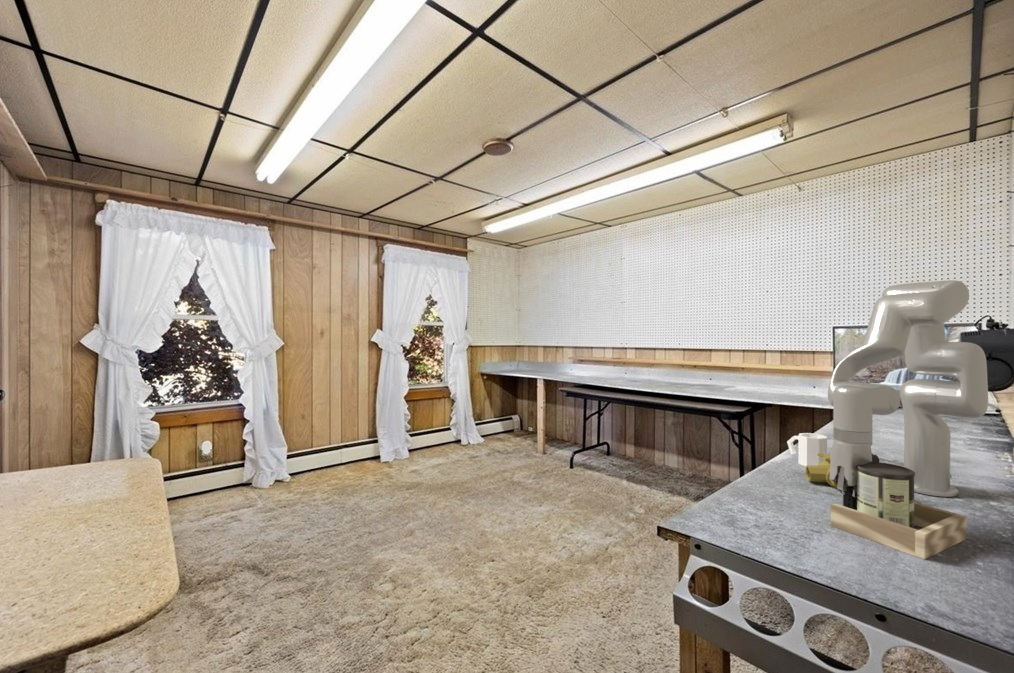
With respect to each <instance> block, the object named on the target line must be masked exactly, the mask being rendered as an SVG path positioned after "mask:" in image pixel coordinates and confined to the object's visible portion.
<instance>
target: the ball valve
mask: <svg viewBox="0 0 1014 673" xmlns="http://www.w3.org/2000/svg"><path fill="white" fill-rule="evenodd" d="M831 451H832V450H831ZM831 451H829V453H827V454H824V453H818V454H817V455H818V456H819V457H822V458H823V460H824V461H823V462H821V463H818V466H808V465H806V466H805V472H804V473H805V474H804V475H805V478H806V480H807V481H808V482H820V483H828V485H829V486H830V487H832V488H834V489H837V485H838V481H831V480H830V460H831ZM826 461H827V462H826Z"/></svg>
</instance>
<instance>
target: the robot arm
mask: <svg viewBox="0 0 1014 673" xmlns="http://www.w3.org/2000/svg"><path fill="white" fill-rule="evenodd" d="M969 299H970V290H969V289H968V286H967V285H966V283H964V282H963V281H960V280H953V279H952V280H951V279H949V280H937V281H922V282H910V283H909V282H908V283H901V284H894V285H891V286H888V287H886V288H884V289H883V291H882V294H881V297H880V298H878V299H877V300H876V301H875V303H874V306H873V308H872V311H871V315H870V318H869V322H868V323H867V324H868V326H867V328H866V331H865V334H864V339H863V342H862V343H861V345H860V346H858V347H857V348H855V349H854V350H853V349H852V351H851V352H849V353H848V354H847V355H845V356H844V357H843V358H841V359H842V360H840V361H839V362H838V363H837V364H836V365H835V368H834V369H833V371H832V375H831V377H830V381H829V385H828V389H827V400H828V401H829V404H830V405H831V406H832V407H833V415H832V416H833V424H832V426H833V429H832V430H833V432H832V433H833V434H832V435H833V442H832V446H831V447H832V448H831V460H830V480H831V481H838V485H837V488H836V489H837V490H842V493H843V494H842V493H841V494H842V500H843V501H842V506H844V507H848V508H851V509H854V510H857V467H856V465H863V464H867V463H868V462H872V454H873V452H872V446H873V415H876V416H877V415H878V416H887V415H890V414H893V413H895V412H896V411H897V410H898V409H899V407H900V405H901V406H902V411H903V422H904V424H903V425H904V426H903V427H904V428H903V429H904V432H903V433H904V436H903V437H904V438H903V439H904V440H903V442H904V443H903V444H904V446H903V447H904V450H903V451H904V453H903V454H904V455H903V456H904V459H903V460H904V461H903V463H904V464H903V465H904V466H903V467H905V468H908V469H910V470H912V471H914V472H915V476H914V493H918V494H922V495H927V496H934V497H945V498H947V497H948V498H950V497H951V498H952V497H957V496H958V495H959V490H958V488H956V487H954V486H952V485H951V479H952V476H953V475H952V474H951V429H950V426H949V425H948V424H947V423H946V421H945V420H944V419H943V418H942V417H941V416H942V415H943V416H951V417H952V416H953V417H960V418H970V419H978V418H981V417H983V416H984V415H985V414H986V413H987V411H988V407H989V386H988V383H989V382H988V364H987V357H986V354H985V351H984V349H983V348H982V347H981V346H980V345H978V344H977V343H973V342H967V341H947V339H946V331H945V329H946V328H945V323H947V322H949V321H950V320H952V319H953V318H954V317H955V316H957V315H958V314H960V313H961V312H962V311H963V310H965V308H966V307H967V305H968V303H969ZM903 354H904V362H905V366H906V368H907V370H908V371H909V372H911V373H913V374H916V375H923V376H924V375H925V376H935V377H951V378H957V380H958V381H957V380H956V381H955V380H944V379H931V378H929V379H928V378H912V379H909V380H907V381H905V382H903V383H902V384H901V387H900V389H899V392H898V391H897V389H896V388H895V387H892V386H889V385H887V384H878V383H869V382H860V381H857V382H856V381H852V379H853V378H854V377H855V375H856V374H858V373H859V372H861V371H862V370H864V369H865V368H867V367H870V366H875V365H876V364H877V365H878V364H880V363H883V362H887V361H890V360H894V359H896V358H899V357H901V356H902V355H903ZM940 415H941V416H940ZM847 481H848V482H847Z"/></svg>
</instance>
